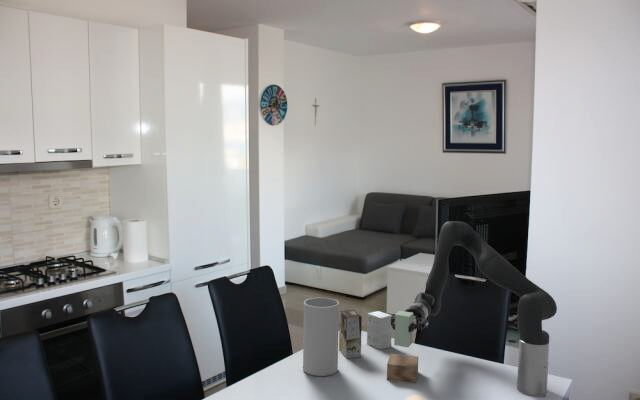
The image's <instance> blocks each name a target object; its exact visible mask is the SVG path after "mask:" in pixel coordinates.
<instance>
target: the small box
mask: <svg viewBox="0 0 640 400" xmlns="http://www.w3.org/2000/svg"><path fill="white" fill-rule="evenodd" d="M391 317H392V314H388V313H385V312H383V311H380V310H377V311H372V312H367V321H366V322H367V323H366V324H367V325H366V344H367V346H368V345H369V346H371V347H373V348H377V349H378V350H384V349H386V348H389V347H392V330H393V328H392V326H391Z"/></svg>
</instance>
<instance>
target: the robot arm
mask: <svg viewBox="0 0 640 400" xmlns="http://www.w3.org/2000/svg"><path fill="white" fill-rule="evenodd" d="M454 246H459V247H463V249H465V250H466V251H467V252H469V254H471V255H472V256H473V258H474V261H475V264H476V266H477V268H478V270H479V271H480V272H481V273H482V274H483V275H484V276H485V277H486V278H487V279H488V280H489V281H490V282H492V283H493V284H495V285H496V286H499V287H500V288H502V289H505V290H508V291H509V292H512V293H513V294H515V295H516V296H518V297H519V300H518V303H517V314H516V315H517V321H516V322H517V331H518V334H519V341H518V345H519V346H518V358H517V359H518V362H517V378H516V379H517V380H516V381H517V382H516V388H517V389H516V390H518V391H519V392H520V393H522V394H524V395H527V396H532V397H546V395H547V391H548V377H549V351H550V349H549V347H550V346H549V345H550V333H548V332H547V331H545V330H543V321H545V320H546V321H547V320H549V319H551V318H553V317H554V316H555V315H557V312H558V311H557V309H558V307H557V303H556V301H555V299H554V298H553V296H552V295H550V293H549V292H547V291H546V290H544V289H543V288H541V287H540V286H538V285H537V284H536V283H534V282H532V281H531V280H530V279H529V278H528V277H526V275H524V274H523V273H522V272H520V270H518V269H517V268H516V267H515V266H514V265H512V263H510V262H509V261H508V259H506V258H505V257H503V255H501V254H500V253H499V252H498V251H496V250H495V249H494V248H493V247H492V246H491V245H490V244H488V242H486V241H484V239H483V238H482V237H481V236H480V235H479V234H478V233H477V232H476V231H475V230H474V229H473V228H472V227H471V225H470V224H469V223H466V222H464V221H459V220H457V221H455V220H454V221H453V220H450V221H449V220H448V221H446V222H445V223H443V225H442V226H441V229H440V231H439V235H438V241H437V246H436V249H435V254H434V259H433V263H432V266H431V269H430V272H429V275H428V277H427V279H426V282H425V289H426V290H427V291H429V293H431V294H432V295H431V294H428V293H426V292H419V293H418V294H417V295H416V296H415V298H414V302H413V304H411V305H410V306H409V307H407V308H406V309H405V310H404V311H405V312H412V313H413V323H412V324H411V325H410V326H409V327H408V332H412V331H413V332H414V331H416V330H418V331H422V330H425V329H427V328H428V327H429V319H427V318H428V317H429V316H433V317H434V316H437V315H438V314H439V313H440V311H441V307H442V297H443V292H444V288H445V286H446V284H447V280H448V278H449V274H450V273H449V272H450V267H449V257H450V254H451V250H452V249H453V247H454ZM395 314H396V313H392V314H391V315H392V317H391V326H392V330H394V331H395Z"/></svg>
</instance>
